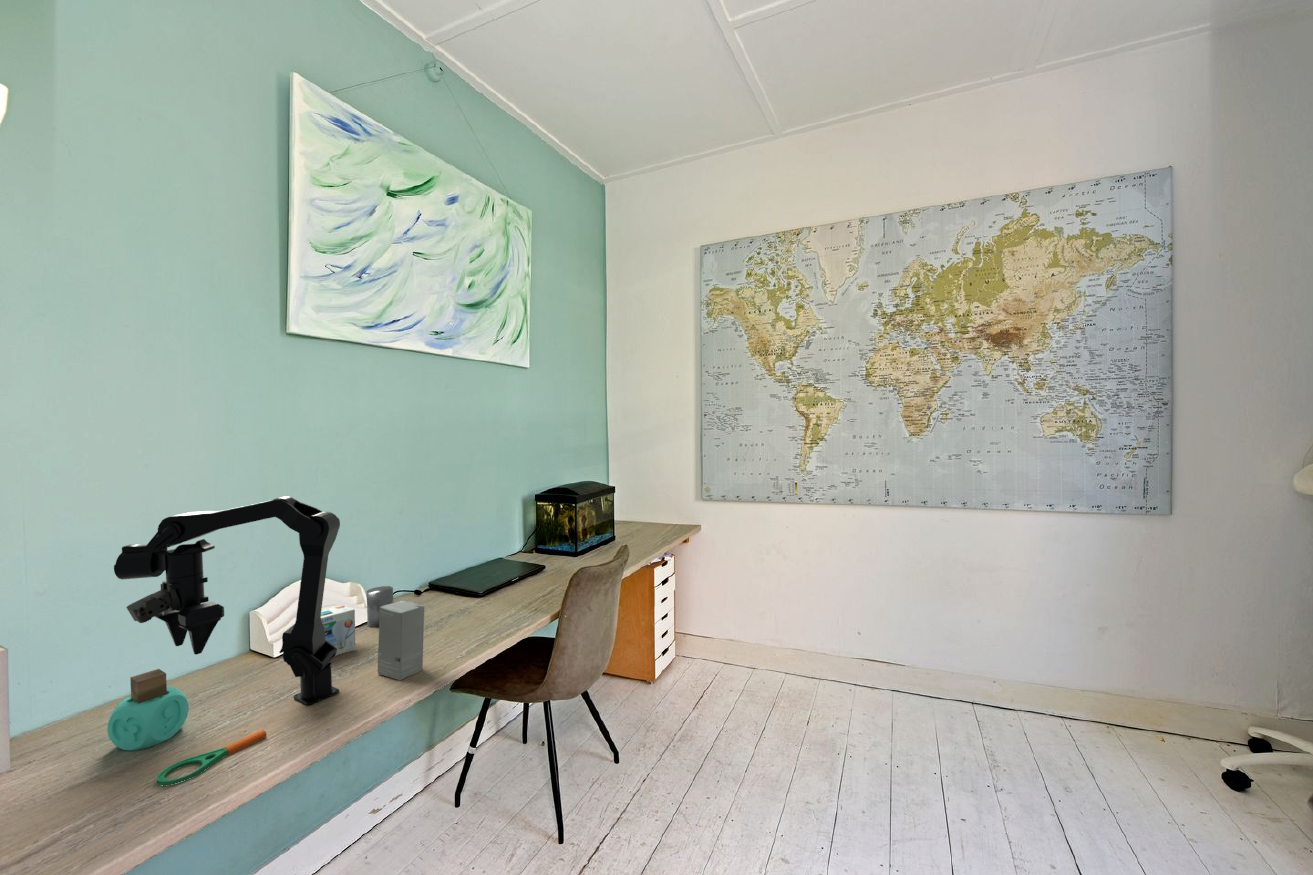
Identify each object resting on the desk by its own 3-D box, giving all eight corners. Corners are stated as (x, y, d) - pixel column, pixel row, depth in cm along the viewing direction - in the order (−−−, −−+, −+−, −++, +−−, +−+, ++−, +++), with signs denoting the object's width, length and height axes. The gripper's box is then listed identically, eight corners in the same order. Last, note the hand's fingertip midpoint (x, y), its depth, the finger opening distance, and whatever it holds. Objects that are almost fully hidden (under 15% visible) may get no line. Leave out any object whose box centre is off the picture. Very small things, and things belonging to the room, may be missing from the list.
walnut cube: (166, 694, 99) (166, 673, 99) (138, 703, 96) (137, 682, 96) (159, 689, 102) (158, 668, 102) (131, 698, 98) (130, 677, 98)
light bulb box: (311, 664, 129) (309, 620, 129) (300, 657, 133) (299, 615, 133) (357, 649, 138) (355, 608, 138) (346, 643, 142) (344, 603, 142)
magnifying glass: (164, 793, 84) (164, 783, 84) (150, 781, 87) (150, 771, 87) (272, 743, 97) (272, 734, 97) (256, 734, 100) (256, 725, 100)
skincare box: (376, 674, 123) (374, 607, 123) (404, 662, 129) (401, 598, 129) (400, 681, 119) (398, 612, 119) (427, 668, 125) (425, 603, 125)
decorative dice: (151, 726, 103) (149, 685, 103) (190, 726, 103) (188, 685, 103) (107, 751, 95) (105, 707, 95) (149, 751, 95) (147, 707, 95)
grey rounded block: (398, 621, 158) (397, 588, 158) (376, 628, 152) (374, 594, 152) (385, 617, 161) (384, 584, 161) (362, 624, 155) (361, 591, 155)
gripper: (114, 579, 105) (118, 656, 106) (150, 591, 96) (154, 675, 96) (184, 566, 115) (188, 636, 115) (223, 575, 106) (227, 652, 106)
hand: (188, 649), depth 108 cm, fingers open, 9 cm apart
